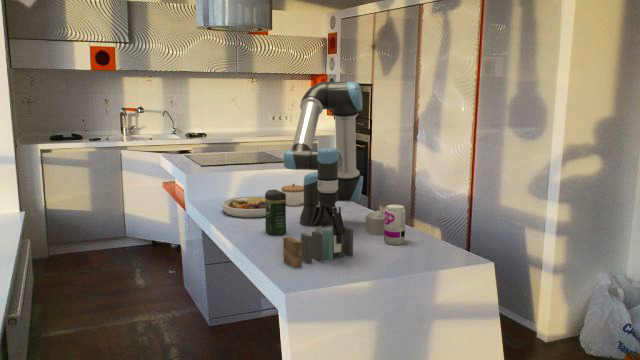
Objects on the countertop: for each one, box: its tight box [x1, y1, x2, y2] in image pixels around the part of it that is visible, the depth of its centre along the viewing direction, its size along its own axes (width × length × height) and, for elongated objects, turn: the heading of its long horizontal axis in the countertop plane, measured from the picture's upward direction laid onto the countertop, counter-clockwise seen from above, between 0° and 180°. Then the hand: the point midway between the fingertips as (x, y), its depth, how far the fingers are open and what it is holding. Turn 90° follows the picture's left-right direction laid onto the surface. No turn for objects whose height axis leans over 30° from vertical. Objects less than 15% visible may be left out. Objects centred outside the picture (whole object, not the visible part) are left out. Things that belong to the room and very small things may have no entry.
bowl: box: [221, 195, 266, 219], centre depth 298 cm, size 30×30×8 cm
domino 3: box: [322, 229, 334, 261], centre depth 225 cm, size 2×5×10 cm, turn 32°
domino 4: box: [331, 228, 344, 259], centre depth 227 cm, size 2×5×10 cm, turn 32°
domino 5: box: [343, 226, 354, 257], centre depth 229 cm, size 2×5×10 cm, turn 32°
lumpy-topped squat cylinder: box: [365, 210, 385, 236], centre depth 261 cm, size 10×13×9 cm
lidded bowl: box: [280, 183, 304, 207], centre depth 314 cm, size 13×13×11 cm
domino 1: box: [300, 232, 313, 264], centre depth 220 cm, size 2×5×10 cm, turn 32°
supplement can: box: [383, 203, 406, 246], centre depth 244 cm, size 8×8×15 cm
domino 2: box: [311, 231, 323, 262], centre depth 222 cm, size 2×5×10 cm, turn 32°
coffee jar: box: [264, 189, 287, 236], centre depth 258 cm, size 10×8×19 cm
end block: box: [282, 236, 303, 268], centre depth 217 cm, size 3×8×9 cm, turn 32°
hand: (327, 247), depth 225 cm, fingers open, 13 cm apart
